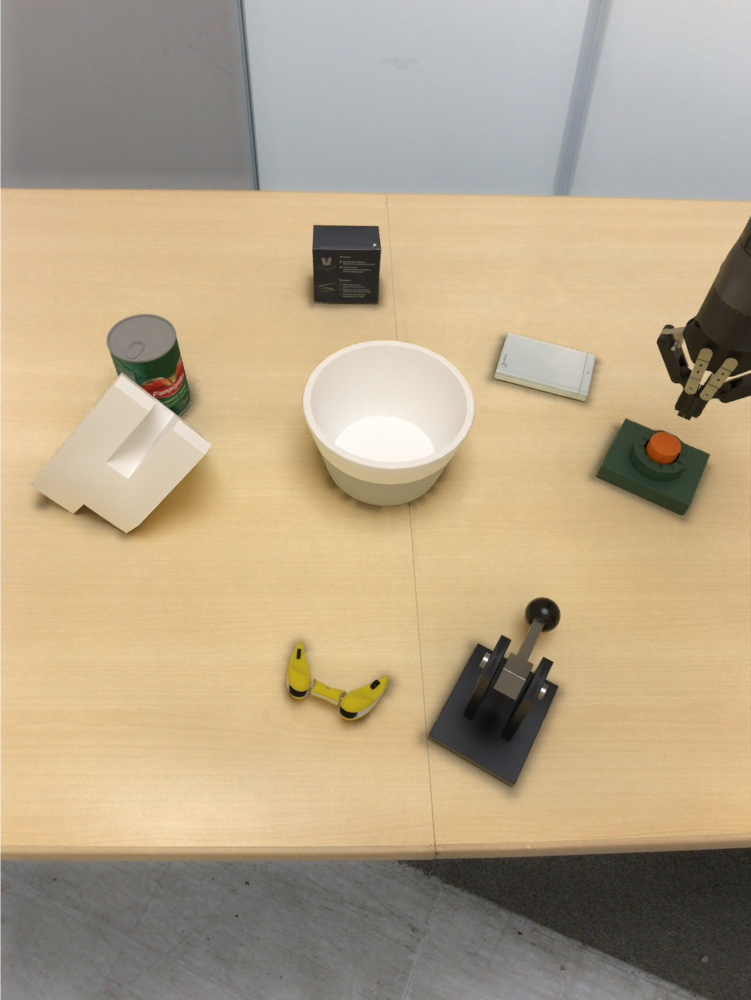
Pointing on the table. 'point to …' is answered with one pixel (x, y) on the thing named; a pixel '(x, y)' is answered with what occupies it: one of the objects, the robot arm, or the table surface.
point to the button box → (653, 469)
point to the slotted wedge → (122, 457)
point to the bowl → (387, 418)
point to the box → (346, 263)
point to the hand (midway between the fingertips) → (685, 413)
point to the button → (663, 448)
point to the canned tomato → (151, 358)
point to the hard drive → (545, 366)
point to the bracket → (494, 714)
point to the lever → (527, 645)
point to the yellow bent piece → (351, 703)
